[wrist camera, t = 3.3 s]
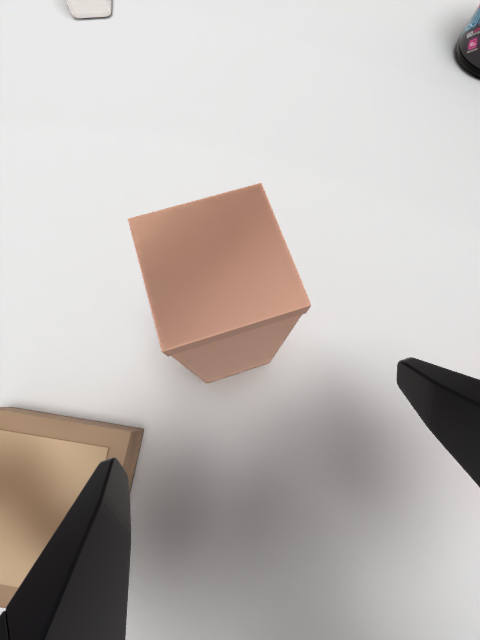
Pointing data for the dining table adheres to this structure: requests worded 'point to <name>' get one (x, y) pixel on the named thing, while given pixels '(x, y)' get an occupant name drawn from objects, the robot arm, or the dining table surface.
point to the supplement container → (470, 45)
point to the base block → (48, 479)
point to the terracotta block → (219, 281)
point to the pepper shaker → (89, 8)
